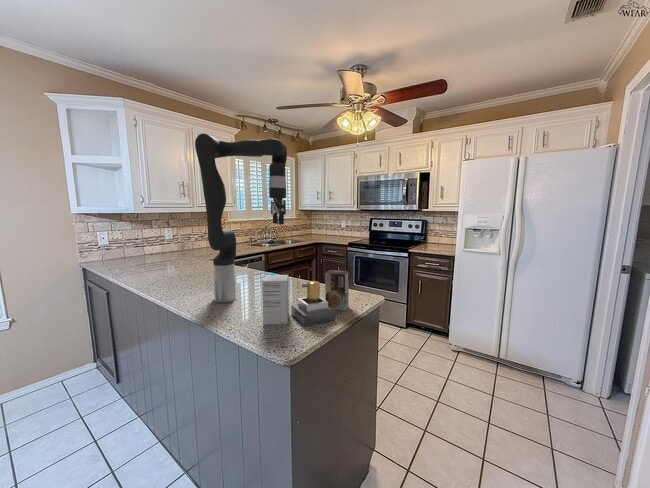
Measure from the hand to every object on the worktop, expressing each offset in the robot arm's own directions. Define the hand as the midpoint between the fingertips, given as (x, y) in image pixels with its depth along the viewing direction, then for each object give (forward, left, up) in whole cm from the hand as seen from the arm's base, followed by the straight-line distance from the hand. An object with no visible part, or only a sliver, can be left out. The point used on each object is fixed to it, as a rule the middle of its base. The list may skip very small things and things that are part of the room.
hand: (278, 223), depth 122 cm
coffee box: (+20, -19, -36) cm, 46 cm away
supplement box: (-8, -20, -36) cm, 42 cm away
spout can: (+5, -24, -32) cm, 40 cm away
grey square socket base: (+6, -24, -36) cm, 44 cm away
